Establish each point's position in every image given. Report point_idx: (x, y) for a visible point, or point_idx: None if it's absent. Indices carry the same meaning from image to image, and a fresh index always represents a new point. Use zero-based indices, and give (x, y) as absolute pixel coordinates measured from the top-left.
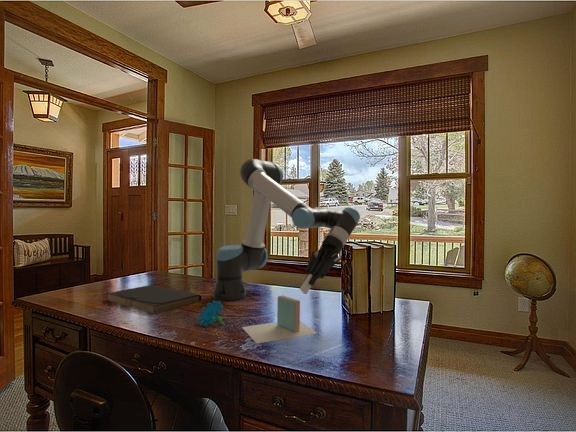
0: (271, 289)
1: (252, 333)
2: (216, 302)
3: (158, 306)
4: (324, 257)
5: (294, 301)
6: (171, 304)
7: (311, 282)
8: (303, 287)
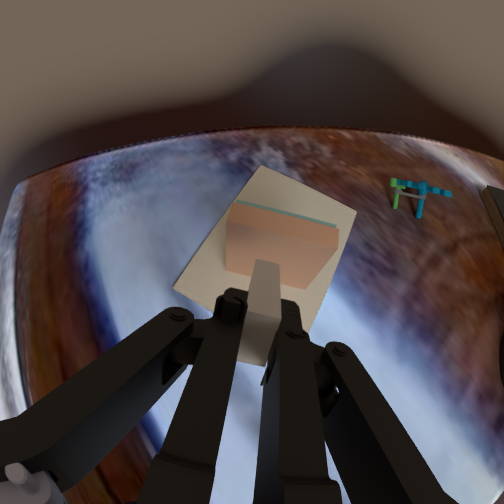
0: (494, 480)
1: (309, 195)
2: (443, 194)
3: (490, 195)
4: (147, 477)
5: (239, 203)
6: (499, 220)
7: (225, 290)
8: (257, 263)
